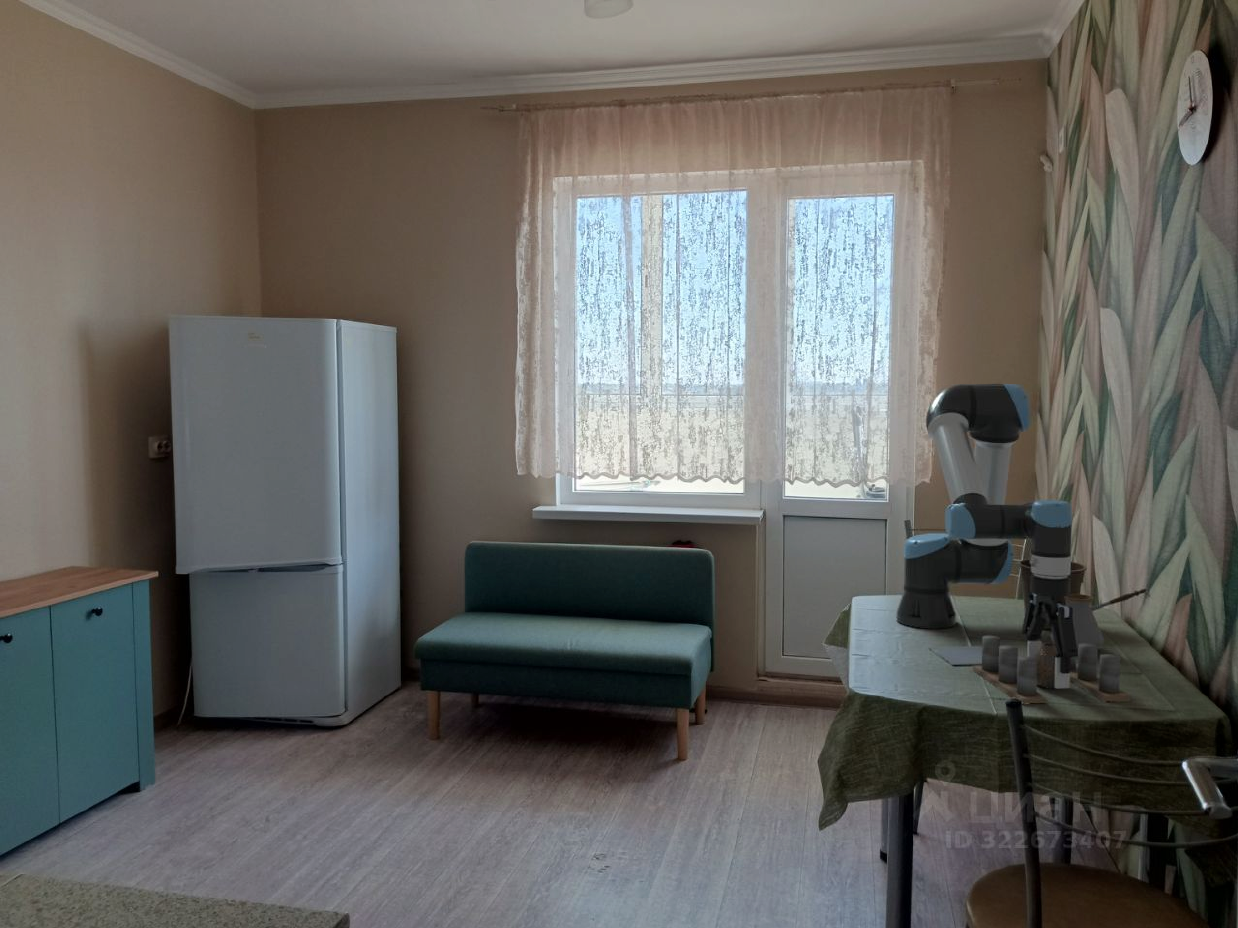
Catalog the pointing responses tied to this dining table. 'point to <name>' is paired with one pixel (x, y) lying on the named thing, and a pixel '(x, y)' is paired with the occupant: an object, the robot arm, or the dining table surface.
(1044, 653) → the vase
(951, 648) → the mat
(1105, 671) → the spacer rack
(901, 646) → the dining table surface
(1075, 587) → the plant pot
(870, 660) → the dining table surface
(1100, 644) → the coffee pot
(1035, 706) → the dining table surface
